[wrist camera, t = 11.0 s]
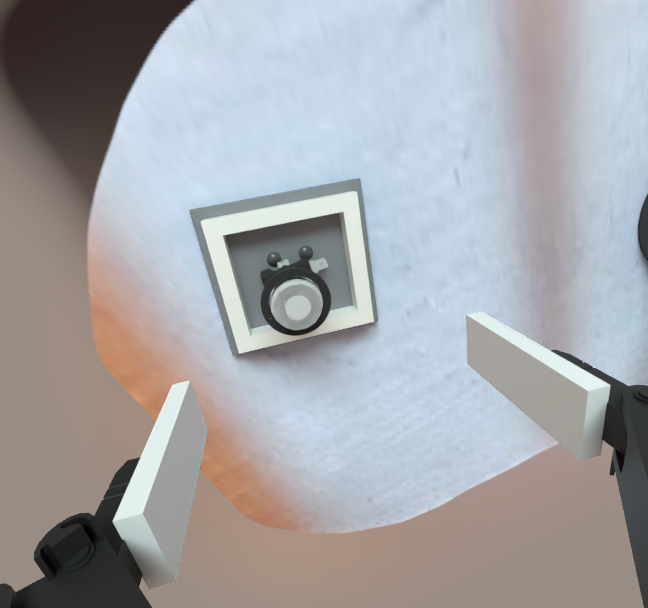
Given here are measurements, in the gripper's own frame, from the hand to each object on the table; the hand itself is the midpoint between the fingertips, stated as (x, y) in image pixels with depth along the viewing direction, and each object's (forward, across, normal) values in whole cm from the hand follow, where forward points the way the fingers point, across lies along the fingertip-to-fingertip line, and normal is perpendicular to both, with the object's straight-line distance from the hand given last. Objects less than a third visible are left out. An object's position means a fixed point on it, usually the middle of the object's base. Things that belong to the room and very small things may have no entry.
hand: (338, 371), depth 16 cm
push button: (+20, 0, 0) cm, 20 cm away
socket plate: (+21, 0, 0) cm, 21 cm away
